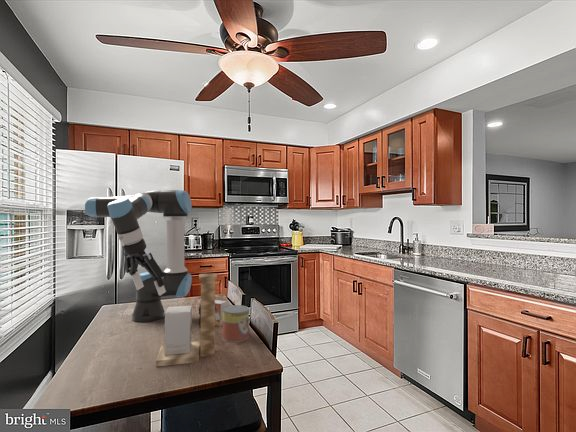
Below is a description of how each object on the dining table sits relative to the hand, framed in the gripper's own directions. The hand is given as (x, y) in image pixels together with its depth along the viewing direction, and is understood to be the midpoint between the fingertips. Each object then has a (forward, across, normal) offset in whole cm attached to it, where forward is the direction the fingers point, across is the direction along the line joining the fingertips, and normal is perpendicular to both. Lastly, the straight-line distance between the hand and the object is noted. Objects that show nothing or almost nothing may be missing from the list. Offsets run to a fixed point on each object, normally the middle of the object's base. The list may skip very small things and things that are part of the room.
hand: (151, 290), depth 121 cm
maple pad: (+21, +14, -6) cm, 26 cm away
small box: (+35, 0, +24) cm, 42 cm away
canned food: (+31, +19, +17) cm, 40 cm away
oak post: (+24, +21, 0) cm, 32 cm away
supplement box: (+20, +14, -5) cm, 25 cm away
